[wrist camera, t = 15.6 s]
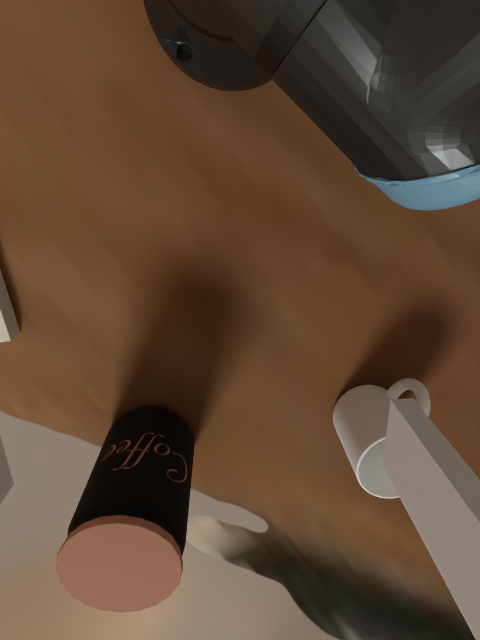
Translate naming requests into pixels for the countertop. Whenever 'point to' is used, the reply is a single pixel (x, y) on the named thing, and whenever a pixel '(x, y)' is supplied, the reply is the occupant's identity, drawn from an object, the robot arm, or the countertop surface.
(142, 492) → the coffee jar
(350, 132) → the robot arm
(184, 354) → the countertop surface
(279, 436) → the countertop surface
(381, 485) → the mug
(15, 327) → the tray
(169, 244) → the countertop surface
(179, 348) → the countertop surface
